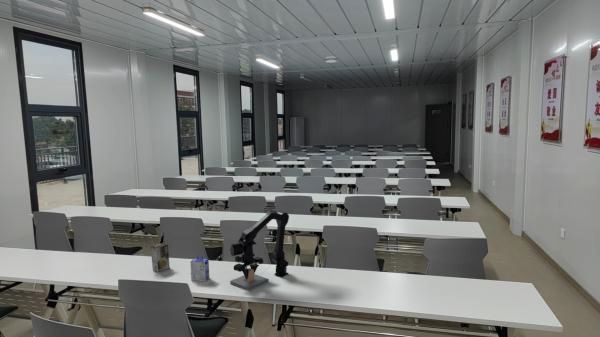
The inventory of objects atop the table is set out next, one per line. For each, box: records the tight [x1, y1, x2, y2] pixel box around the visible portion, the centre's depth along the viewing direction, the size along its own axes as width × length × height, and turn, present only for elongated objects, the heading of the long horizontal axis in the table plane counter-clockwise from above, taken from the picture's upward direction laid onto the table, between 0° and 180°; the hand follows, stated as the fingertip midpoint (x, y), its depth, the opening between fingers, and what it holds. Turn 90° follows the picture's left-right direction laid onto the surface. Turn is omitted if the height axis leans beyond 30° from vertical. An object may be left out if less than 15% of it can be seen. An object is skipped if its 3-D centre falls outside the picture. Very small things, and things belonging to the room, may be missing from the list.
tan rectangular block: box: [245, 267, 255, 282], centre depth 231 cm, size 4×4×8 cm
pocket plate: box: [229, 273, 270, 292], centre depth 232 cm, size 16×16×2 cm
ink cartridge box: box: [189, 255, 210, 282], centre depth 238 cm, size 10×6×14 cm, turn 78°
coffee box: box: [150, 242, 171, 273], centre depth 257 cm, size 9×6×16 cm
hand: (249, 277), depth 231 cm, fingers closed on tan rectangular block, 4 cm apart
